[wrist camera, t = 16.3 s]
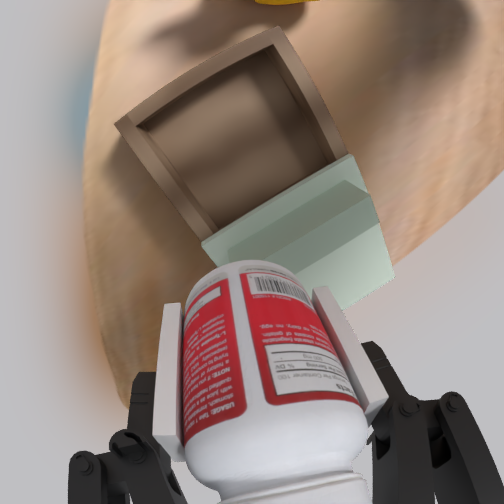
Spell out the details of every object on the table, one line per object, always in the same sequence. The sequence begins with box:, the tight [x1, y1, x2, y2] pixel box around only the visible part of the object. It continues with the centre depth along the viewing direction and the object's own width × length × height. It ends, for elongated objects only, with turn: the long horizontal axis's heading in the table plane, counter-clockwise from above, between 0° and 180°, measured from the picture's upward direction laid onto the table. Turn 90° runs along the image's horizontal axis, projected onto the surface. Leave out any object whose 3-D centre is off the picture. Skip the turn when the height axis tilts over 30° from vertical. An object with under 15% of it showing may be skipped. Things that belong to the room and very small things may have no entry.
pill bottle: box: [183, 260, 373, 504], centre depth 10 cm, size 6×6×11 cm
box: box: [114, 25, 348, 242], centre depth 22 cm, size 14×14×5 cm
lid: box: [201, 154, 395, 311], centre depth 24 cm, size 14×14×5 cm
